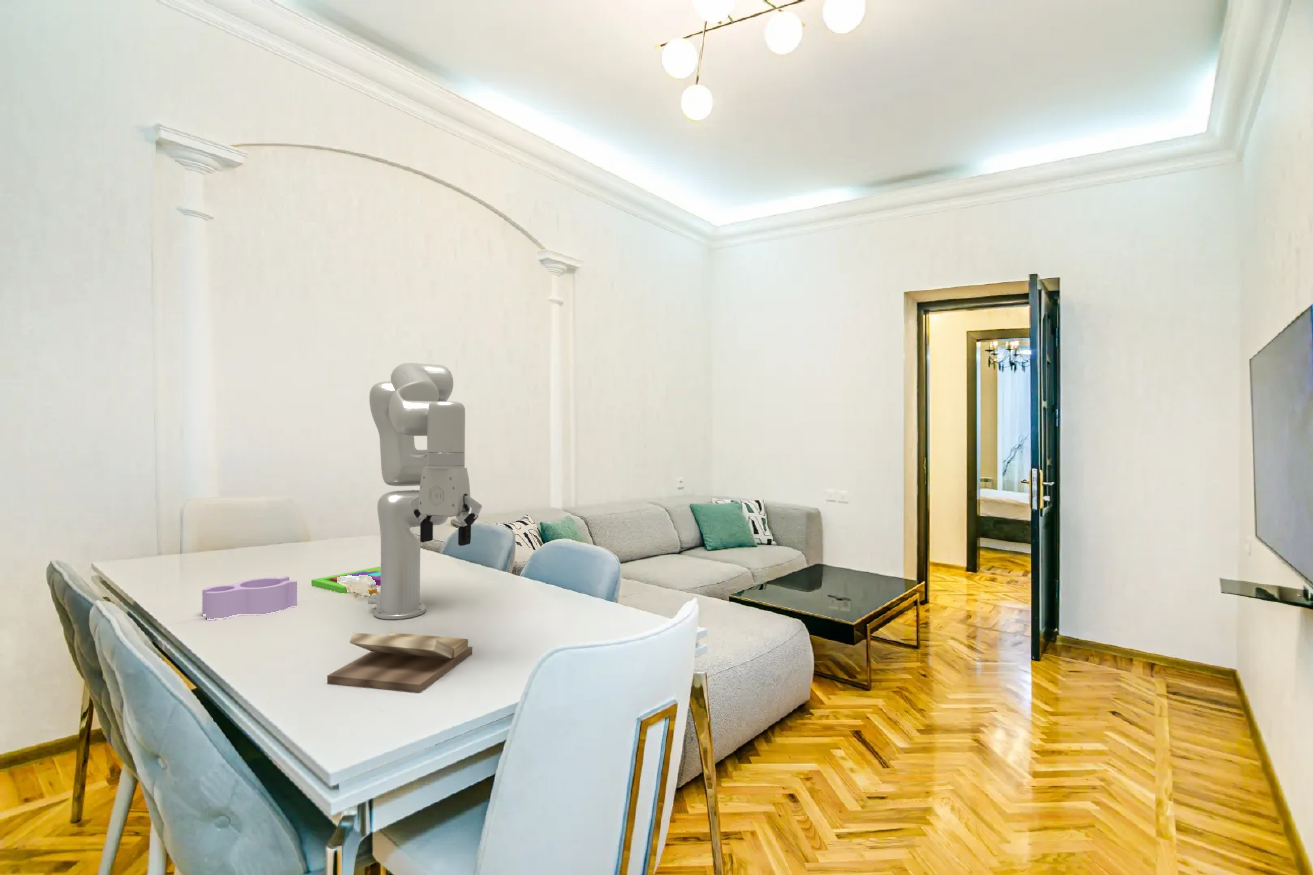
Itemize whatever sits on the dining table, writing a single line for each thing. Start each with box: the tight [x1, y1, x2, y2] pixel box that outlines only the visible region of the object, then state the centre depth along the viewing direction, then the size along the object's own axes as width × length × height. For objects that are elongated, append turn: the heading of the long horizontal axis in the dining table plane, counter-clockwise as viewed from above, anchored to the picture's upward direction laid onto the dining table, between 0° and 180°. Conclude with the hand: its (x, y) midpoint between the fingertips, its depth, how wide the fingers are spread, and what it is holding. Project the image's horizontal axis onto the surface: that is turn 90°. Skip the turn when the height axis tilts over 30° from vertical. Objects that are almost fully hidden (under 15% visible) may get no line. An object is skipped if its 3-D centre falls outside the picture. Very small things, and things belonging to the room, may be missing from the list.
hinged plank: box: [349, 632, 454, 658], centre depth 132 cm, size 18×8×2 cm, turn 80°
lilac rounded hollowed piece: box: [201, 575, 298, 619], centre depth 169 cm, size 20×12×7 cm, turn 135°
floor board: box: [326, 632, 473, 694], centre depth 132 cm, size 19×21×4 cm
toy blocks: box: [310, 566, 381, 595], centre depth 199 cm, size 23×2×25 cm
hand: (445, 543), depth 137 cm, fingers open, 9 cm apart
